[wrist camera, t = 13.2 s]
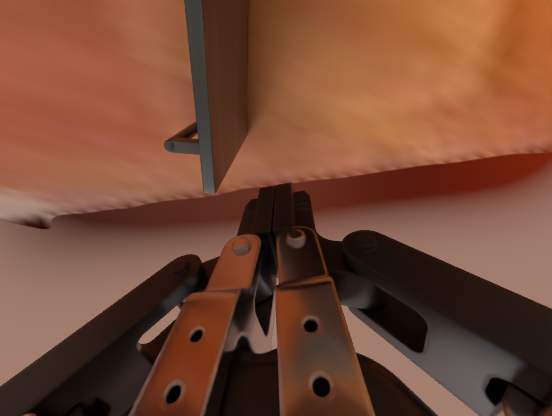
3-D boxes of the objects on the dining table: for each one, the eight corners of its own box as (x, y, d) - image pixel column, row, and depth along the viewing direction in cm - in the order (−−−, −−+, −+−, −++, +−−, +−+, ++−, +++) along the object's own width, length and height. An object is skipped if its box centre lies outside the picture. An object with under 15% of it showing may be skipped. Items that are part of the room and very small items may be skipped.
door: (205, 132, 34) (141, 187, 19) (192, -27, 25) (52, -158, 10) (246, 136, 34) (215, 194, 19) (248, -22, 25) (191, -144, 10)
